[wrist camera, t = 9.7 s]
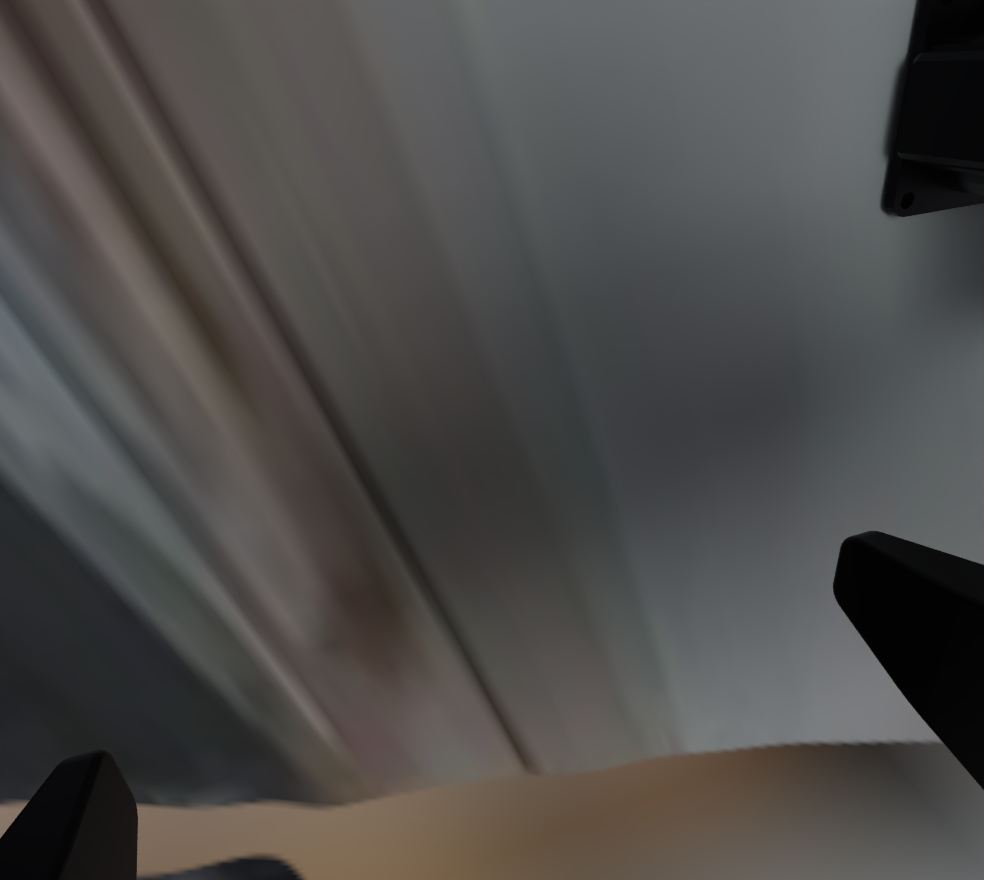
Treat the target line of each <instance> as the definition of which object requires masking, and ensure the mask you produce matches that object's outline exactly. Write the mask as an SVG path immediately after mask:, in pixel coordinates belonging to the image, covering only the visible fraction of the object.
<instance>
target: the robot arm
mask: <svg viewBox="0 0 984 880" xmlns="http://www.w3.org/2000/svg"><path fill="white" fill-rule="evenodd" d="M903 196H904V199H903V202H902V203H901V199H902V197H903ZM980 203H984V0H941V2H940V0H921V2H920V7H919V13H918V19H917V24H916V30H915V35H914V41H913V46H912V52H911V57H910V63H909V68H908V74H907V79H906V85H905V90H904V96H903V101H902V107H901V113H900V118H899V124H898V129H897V135H896V140H895V146H894V151H893V157H892V162H891V168H890V173H889V179H888V184H887V190H886V196H885V203H884V207H885V210H886V212H887V213H889V214H891V215H895V216H901V217H906V216H912V215H917V214H923V213H929V212H935V211H940V210H946V209H952V208H957V207H963V206H969V205H975V204H980ZM833 592H834V595H835V598H836V600H837V602H838V604H839V606H840V607H841V609H842V610H843V611H844V613H845V614H846V616H847V617H848V618H849V620H850V621H851V623H852V624H853V625H854V627H855V628H856V630H857V631H858V632H859V634H860V635H861V637H862V638H863V639H864V641H865V642H866V644H867V645H868V646H869V648H870V649H871V651H872V652H873V653H874V655H875V656H876V658H877V659H878V660H879V662H880V663H881V665H882V666H883V667H884V669H885V670H886V672H887V673H888V674H889V676H890V677H891V679H892V680H893V681H894V683H895V684H896V686H897V687H898V688H899V690H900V691H901V692H902V694H903V695H904V696H905V698H906V699H907V700H908V702H909V703H910V704H911V705H912V707H913V708H914V709H915V710H916V711H917V713H918V714H919V715H920V716H921V718H922V719H923V720H924V721H925V722H926V723H927V725H928V726H929V727H930V728H931V729H932V730H933V732H934V733H935V734H936V735H937V736H938V737H939V739H940V740H941V741H942V742H943V743H944V744H945V746H946V747H947V748H948V749H949V750H950V751H951V753H952V754H953V755H954V756H955V757H956V758H957V760H958V761H959V762H960V763H961V764H962V765H963V766H964V768H965V769H966V770H967V771H968V772H969V774H970V775H971V776H972V777H973V778H974V779H975V780H976V782H977V783H978V784H979V785H980V786H981V787H982V789H983V790H984V565H982V564H979V563H976V562H973V561H970V560H966V559H963V558H960V557H957V556H954V555H951V554H948V553H945V552H941V551H938V550H935V549H932V548H929V547H926V546H923V545H920V544H916V543H913V542H910V541H907V540H904V539H901V538H898V537H895V536H891V535H888V534H885V533H882V532H878V531H868V532H865V533H861V534H858V535H854V536H851V537H848V538H846V539H845V540H844V541H843V543H842V545H841V548H840V552H839V557H838V562H837V567H836V572H835V577H834V582H833ZM137 833H138V815H137V807H136V802H135V799H134V796H133V794H132V792H131V790H130V788H129V786H128V784H127V782H126V780H125V778H124V777H123V775H122V773H121V771H120V769H119V767H118V765H117V763H116V761H115V759H114V758H113V756H112V755H111V753H110V752H108V751H107V750H104V749H103V750H96V751H92V752H89V753H85V754H82V755H78V756H75V757H71V758H68V759H66V760H64V761H62V762H61V763H60V764H59V765H58V766H57V767H56V768H55V769H54V770H53V772H52V773H51V774H50V775H49V777H48V778H47V779H46V781H45V782H44V783H43V784H42V786H41V787H40V788H39V790H38V791H37V792H36V793H35V795H34V796H33V797H32V799H31V800H30V801H29V802H28V804H27V805H26V806H25V808H24V809H23V810H22V811H21V813H20V814H19V815H18V816H17V818H16V819H15V821H14V822H13V823H12V824H11V825H10V827H9V828H8V829H7V831H6V832H5V833H4V835H3V836H2V837H1V838H0V880H136V878H137Z"/></svg>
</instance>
